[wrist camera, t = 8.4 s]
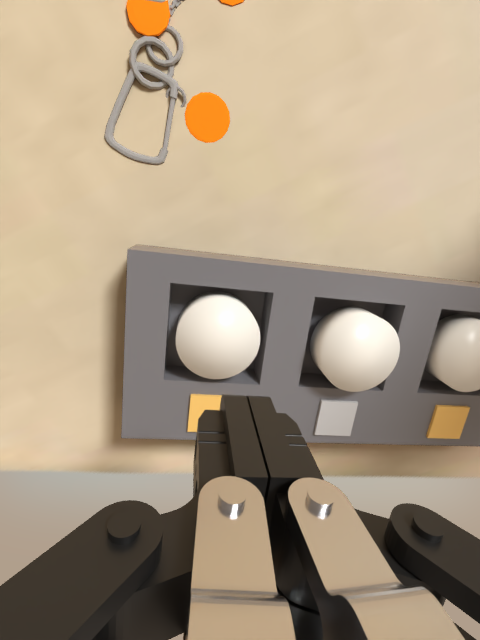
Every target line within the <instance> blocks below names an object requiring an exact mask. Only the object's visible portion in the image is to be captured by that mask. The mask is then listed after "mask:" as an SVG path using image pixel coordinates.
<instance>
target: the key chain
mask: <svg viewBox="0 0 480 640" xmlns="http://www.w3.org/2000/svg"><path fill="white" fill-rule="evenodd" d="M180 1H181V0H173V2H172V3H173V4H172V6H171V5H170V6H169V5H168V0H167V1H165V0H128V2H127V6H126V8H127V12H128V17H129V21H130V23H131V24H132V26H133V27H134V28H135V30H136V31H137V32H138V33H140V34H142V35H144V36H143V37H141V38H140V39H138V40H136V41H135V42H134V44H133V46H132V48H131V49H130V57H129V64H130V66H131V68H130V71H129V73H128V75H127V77H126V79H125V82H124V84H123V86H122V88H121V91H120V93H119V95H118V97H117V100H116V102H115V105H114V107H113V110H112V112H111V115H110V118H109V120H108V123H107V125H106V131H105V136H104V137H105V139H106V141H107V143H108V144H109V145H110V146H111V147H113V148H114V149H115V150H117V151H118V152H120V153H121V154H123V155H125V156H126V157H128V158H131V159H133V160H136V161H139V162H144V163H149V164H162V163H164V161H165V158H166V156H167V153H168V151H167V146H168V140H169V135H170V129H171V123H172V117H173V111H174V105H175V100H176V99H177V95H178V90H179V91H180V92H181V93H182V95H183V103H182V105H181V107H184V106H185V104H186V95H185V93H184V90H183V89H181V88H180V87H179V86H178V83H177V81H176V80H174V79H173V78H172V77H173V75H174V66H175V63H176V62H178V61H179V60H180V57H181V55H182V53H183V41H182V38H181V36H180V34H179V33H178V32H177V31H176V30H175V29H174V28H173V27H172V26H169V22H170V15H171V16H172V15H173V13H174V11H175V9H174V8H175V6H176V7H178V6H179V5H180V3H181V2H180ZM183 1H184V0H183ZM220 1H221V3H224V4H228V5H231V6H234V5H236V4H239V3H242V2H243V1H244V0H220ZM164 30H165V31H168V32H171V33H172V34H173V35H174V36H175V38H176V40H177V43H178V51H177V53H176V55H175V56H174V57H173V56H172V52H171V51H170V50H169V48H168V47H167V46H166V44H165V43H164V42H162V41H161V40H159V39H157V38H156V37H154V36H159V35H160V34H161V33H162V32H163V31H164ZM151 44H154V45H156V46H157V47H159V48H161V49H162V51H163V52H164V53H165V55H166V57H167V60H165V61H164V60H161V59H158V58H157V57H156V56H155V55H154V53H153V51H152V48H151ZM144 45H146V50H147V53H148V55H149V57H150V58H151V59H152V60H153V61H154V62H155V63H156V64H158V65H161V66H164V67H165V66H168V73H167V74H165V73H163V72H162V71H160V70H158V69H156V68H154V67H152V66H149V65H147V64H144V63H141V62H136V54H137V53H138V51H139V49H140V47H142V46H144ZM140 72H145V73H148V74H150V75H152V76H154V77H156V78H158V79H160V80H161V81H159V82H150V81H149V80H147V79H145V78H144V77H143V76H142V75H141V73H140ZM135 77H136V79H137V80H138V81H139V82H140V83H141V84H142V85H144V86H146V87H147V88H149V89H162V88H164V87H165V86H167V85H169V86H170V87H169V88H168V90H167V92H166V97H167V98H168V96H169V93H170V97H171V100H170V106H169V112H168V118H167V125H166V131H165V137H164V143H163V148H161V150H160V152H159V155H158V156H156V157H150V156H145V155H141V154H138V153H135V152H133V151H131V150H129V149H127V148H125V147H123V146H122V145H120V144H119V143H117V142H116V141H115V140H114V137H113V133H114V128H115V124H116V122H117V119H118V117H119V114H120V112H121V109H122V106H123V104H124V102H125V99H126V97H127V95H128V92H129V90H130V88H131V86H132V83H133V81H134V79H135ZM185 120H186V125H187V127H188V129H189V131H190V133H191V134H192V135H193V136H194V137H195V138H196V139H197V140H200V141H203V142H205V143H208V142H215V141H217V140H219V139H221V138H222V137H223V136H224V135H225V133H226V132H227V130H228V127H229V123H230V116H229V111H228V108H227V106H226V103H225V102H224V101H223V100H222V99H221V98H220V97H219V96H217V95H215V94H213V93H210V92H209V93H200V94H198V95H196V96H194V97H193V98H192V99H191V100H190V102H189V103H188V104H187V108H186V111H185Z"/></svg>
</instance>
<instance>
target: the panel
mask: <svg viewBox="0 0 480 640" xmlns="http://www.w3.org/2000/svg"><path fill="white" fill-rule="evenodd" d="M214 291H218V292H226V293H229V294H232V295H234V296H236V297H237V298H239V299H240V300H242V301H243V302H244V303H245V304H246V305H247V307H248V308H249V310H250V311H251V313H252V315H253V316H254V318H255V320H256V322H257V324H258V327H259V330H260V346H259V350H258V352H257V355H256V357H255V358H254V360H253V361H252V363H251V364H250V365H249V366H248V367H247V368H246V369H245V370H243V371H242V372H240V373H239V374H237V375H235V376H232V377H229V378H225V379H209V378H204V377H201V376H199V375H197V374H195V373H193V372H192V371H191V370H189V369H188V368H187V367H186V366H185V365H184V363H183V362H182V361H181V359H180V357H179V355H178V352H177V349H176V331H177V324H178V319H179V316H180V314H181V312H182V310H183V309H184V307H185V306H186V305H187V304H188V303H189V302H190V301H191V300H192V299H194V298H195V297H197V296H199V295H201V294H204V293H207V292H214ZM348 306H354V307H359V308H363V309H365V310H367V311H369V312H371V313H372V314H374V315H376V316H378V317H380V318H382V319H384V320H385V321H387V322H388V323H389V324H390V325H391V326H392V327H393V328H394V329H395V331H396V333H397V335H398V338H399V342H400V353H399V358H398V361H397V363H396V366H395V368H394V369H393V371H392V372H391V373H390V375H389V376H388V377H387V378H386V379H385V380H384V381H383V382H381V383H380V384H378V385H377V386H375V387H373V388H371V389H368V390H365V391H360V392H350V391H345V390H342V389H339V388H338V387H336V386H334V385H333V384H332V383H331V382H330V381H329V380H328V379H327V377H326V376H325V375H324V374H323V373H322V372H321V370H320V369H319V368H318V367H317V366H316V364H315V363H314V361H313V359H312V356H311V352H310V341H311V337H312V334H313V331H314V329H315V327H316V326H317V324H318V323H319V322H320V321H321V319H322V318H323V317H325V316H326V315H327V314H329V313H330V312H332V311H334V310H336V309H339V308H342V307H348ZM455 314H464V315H468V316H471V317H474V318H477V319H480V283H477V282H468V281H459V280H450V279H441V278H432V277H423V276H414V275H405V274H396V273H387V272H378V271H369V270H361V269H352V268H343V267H334V266H325V265H316V264H307V263H298V262H289V261H280V260H271V259H262V258H253V257H244V256H235V255H226V254H218V253H209V252H200V251H191V250H182V249H173V248H164V247H155V246H146V245H135V246H133V247H131V248H129V249H128V253H127V283H126V314H125V344H124V374H123V404H122V435H121V438H136V439H179V440H196V435H197V426H198V419H199V417H200V416H201V415H202V413H203V412H204V410H220V403H221V397H222V394H228V395H245V396H247V395H248V396H266V397H270V398H271V400H272V403H273V405H274V408H275V410H276V413H286V414H287V415H288V416H289V417H290V418H292V419H293V420H294V421H295V422H296V423H297V425H298V427H299V429H300V431H301V433H302V437H304V439H305V441H306V442H310V443H354V444H397V445H441V446H480V389H479V390H476V391H472V392H460V391H457V390H454V389H452V388H451V387H449V386H448V385H446V384H445V383H443V382H442V381H440V380H439V379H437V378H436V377H434V376H433V375H431V374H430V373H428V372H427V371H426V369H425V364H426V361H427V358H428V354H429V351H430V347H431V344H432V340H433V337H434V334H435V330H436V327H437V323H438V321H440V320H441V319H443V318H445V317H448V316H451V315H455Z"/></svg>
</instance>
